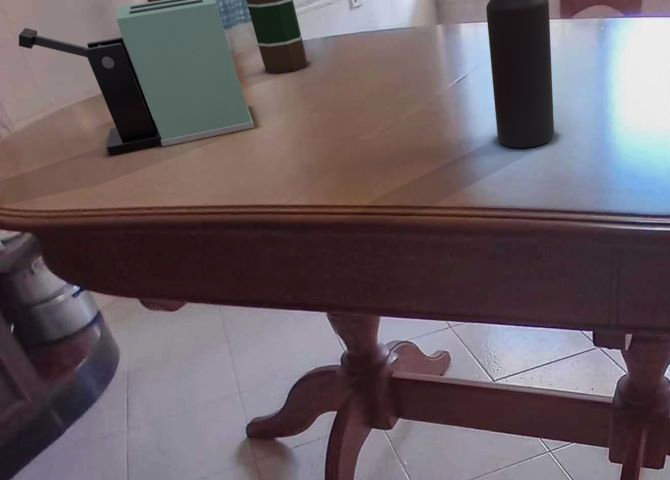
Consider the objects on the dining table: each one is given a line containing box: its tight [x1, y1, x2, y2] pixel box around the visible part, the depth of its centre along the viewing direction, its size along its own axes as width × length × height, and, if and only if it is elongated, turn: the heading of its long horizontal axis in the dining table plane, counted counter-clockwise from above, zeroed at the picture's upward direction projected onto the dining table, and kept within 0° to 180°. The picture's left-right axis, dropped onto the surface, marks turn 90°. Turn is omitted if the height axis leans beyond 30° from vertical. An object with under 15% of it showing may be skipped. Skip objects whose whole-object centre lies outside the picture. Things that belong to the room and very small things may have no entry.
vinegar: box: [485, 0, 555, 149], centre depth 78 cm, size 7×7×20 cm
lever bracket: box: [85, 36, 162, 157], centre depth 95 cm, size 8×9×13 cm
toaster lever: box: [18, 27, 105, 58], centre depth 90 cm, size 11×5×2 cm, turn 111°
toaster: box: [115, 0, 255, 147], centre depth 96 cm, size 12×10×16 cm
